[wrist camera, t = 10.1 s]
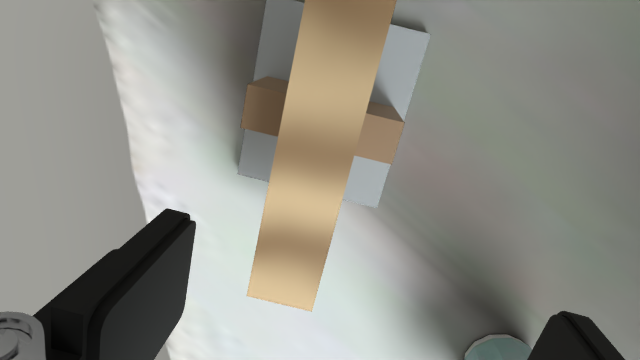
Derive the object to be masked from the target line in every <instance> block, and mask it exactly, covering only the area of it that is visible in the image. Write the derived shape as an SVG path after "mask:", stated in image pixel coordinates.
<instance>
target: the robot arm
mask: <svg viewBox="0 0 640 360" xmlns="http://www.w3.org/2000/svg"><path fill="white" fill-rule="evenodd" d="M195 229H196V222H195V221H192V220H190V215H189V214H187V213H183V212H179V211H176V210H172V209H165V210H164V211H163V212H161V213H160V214H159V215H158V216H157V217H156V218H154V219H153V220H152V221H151V222H150V223H149V224H147V225H146V226H145V227H144V228H143V229H142V230H140V231H139V232H138V233H137V234H136V235H134V236H133V237H132V238H131V239H130V240H129V241H127V242H126V243H125V244H124V245H123V246H122V247H120V248H119V249H115V250H112V251H111V252H109V253H108V254H106V255H105V256H104V257H103V258H102V259H100V260H99V261H98V262H97V263H96V264H94V265H93V266H92V267H91V268H90V269H88V270H87V271H86V272H85V273H84V274H82V275H81V276H80V277H79V278H78V279H76V280H75V281H74V282H73V283H72V284H70V285H69V286H68V287H67V288H66V289H64V290H63V291H62V292H61V293H60V294H58V295H57V296H56V297H55V298H54V299H52V300H51V301H50V302H49V303H48V304H46V305H45V306H44V307H43V308H42V309H40V310H39V311H38V312H37V313H36V314H34V315H33V316H30V315H28V314H25V313H19V312H0V360H154V359H155V357H156V356H157V354H158V352H159V351H160V349H161V348H162V346H163V345H164V343H165V342H166V340H167V339H168V337H169V335H170V334H171V332H172V331H173V329H174V328H175V326H176V325H177V323H178V322H179V320H180V318H181V316H182V313H183V310H184V306H185V300H186V293H187V286H188V278H189V271H190V264H191V257H192V250H193V243H194V236H195ZM527 360H625V359H624V358H623V357H622V355H621V354H620V353H619V352H618V351H617V350H616V348H615V347H614V346H613V345H612V344H611V342H610V341H609V340H608V339H607V338H606V337H605V335H604V334H603V333H602V332H601V331H600V329H599V328H598V327H597V326H596V325H595V324H594V322H593V321H592V320H591V319H590V318H588V317H586V316H582V315H578V314H574V313H570V312H566V311H561V312H559V313H558V314H557V315H553V316H551V317H550V319H549V320H548V322H547V324H546V326H545V328H544V329H543V331H542V333H541V335H540V337H539V339H538V340H537V342H536V344H535V346H534V348H533V350H532V352H531V353H530V355H529V357H528V359H527Z"/></svg>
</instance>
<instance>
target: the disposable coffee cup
mask: <svg viewBox="0 0 640 360" xmlns="http://www.w3.org/2000/svg"><path fill="white" fill-rule="evenodd" d="M531 352H532V349H531V348H530V347H529V346H528V345H527V344H525V343H523V342H522V341H521V340H519V339H516V338H514V337H512V336H510V335H507V334H504V335H488V336H486V337H484V338H482V339H479V340H477V341H475V342H474V343H473V344H472V345H471V346H470V348H469V349H468V350H467V351H466V353H465V358H464V360H527V359H528V357H529V355H530V353H531Z"/></svg>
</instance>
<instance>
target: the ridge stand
mask: <svg viewBox="0 0 640 360" xmlns="http://www.w3.org/2000/svg"><path fill="white" fill-rule="evenodd" d="M303 8H304V3H303V2H299V1H295V0H266V5H265V11H264V17H263V23H262V29H261V35H260V41H259V47H258V53H257V59H256V65H255V71H254V77H253V82H252V83H249V84H247V90H246V96H245V102H244V109H243V115H242V121H241V127H240V128H244V129H245V131H244V137H243V143H242V149H241V155H240V161H239V167H238V173H237V174H239V175H243V176H247V177H251V178H255V179H259V180H263V181H267V182H269V180H270V175H271V170H272V165H273V160H274V155H275V150H276V145H277V140H278V135H279V130H280V125H281V120H282V114H283V109H284V104H285V99H286V94H287V89H288V84H289V79H290V74H291V69H292V64H293V59H294V54H295V49H296V44H297V39H298V33H299V28H300V23H301V18H302V13H303ZM430 35H431V34H428V33H424V32H420V31H416V30H412V29H408V28H404V27H400V26H396V25H392V24H390V26H389V30H388V34H387V37H386V41H385V45H384V48H383V52H382V56H381V59H380V63H379V67H378V70H377V74H376V78H375V81H374V85H373V89H372V92H371V96H370V100H369V103H368V107H367V111H366V114H365V118H364V122H363V125H362V129H361V133H360V136H359V140H358V144H357V147H356V151H355V155H354V158H353V162H352V166H351V169H350V173H349V177H348V180H347V184H346V188H345V191H344V195H343V199H342V200H345V201H349V202H354V203H358V204H362V205H366V206H370V207H374V208H377V206H378V203H379V200H380V197H381V193H382V190H383V187H384V184H385V180H386V177H387V174H388V171H389V168H390V164H391V165H392V162H393V159H394V156H395V152H396V149H397V146H398V143H399V140H400V136H401V133H402V130H403V127H404V123H405V122H404V119H405V116H406V113H407V109H408V106H409V103H410V100H411V97H412V93H413V90H414V87H415V84H416V80H417V77H418V74H419V71H420V67H421V64H422V61H423V58H424V55H425V51H426V48H427V45H428V42H429V38H430Z"/></svg>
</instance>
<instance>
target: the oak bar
mask: <svg viewBox="0 0 640 360" xmlns="http://www.w3.org/2000/svg"><path fill="white" fill-rule="evenodd" d="M396 1H397V0H305V3H304V8H303V13H302V18H301V23H300V28H299V33H298V39H297V44H296V49H295V54H294V59H293V64H292V69H291V74H290V79H289V84H288V89H287V94H286V99H285V104H284V109H283V114H282V120H281V125H280V130H279V135H278V140H277V145H276V150H275V155H274V160H273V165H272V170H271V175H270V180H269V185H268V190H267V196H266V201H265V206H264V211H263V216H262V221H261V226H260V231H259V236H258V241H257V246H256V251H255V256H254V261H253V266H252V271H251V277H250V282H249V287H248V292H247V296H249V297H253V298H257V299H261V300H266V301H270V302H274V303H278V304H282V305H286V306H291V307H295V308H299V309H303V310H307V311H311V312H312V309H313V305H314V302H315V298H316V294H317V291H318V287H319V283H320V280H321V276H322V272H323V269H324V265H325V261H326V258H327V254H328V250H329V247H330V243H331V239H332V236H333V232H334V228H335V225H336V221H337V217H338V214H339V210H340V206H341V203H342V199H343V195H344V191H345V188H346V184H347V180H348V177H349V173H350V169H351V166H352V162H353V158H354V155H355V151H356V147H357V144H358V140H359V136H360V133H361V129H362V125H363V122H364V118H365V114H366V111H367V107H368V103H369V100H370V96H371V92H372V89H373V85H374V81H375V78H376V74H377V70H378V67H379V63H380V59H381V56H382V52H383V48H384V45H385V41H386V37H387V34H388V30H389V26H390V23H391V19H392V15H393V12H394V8H395V4H396Z"/></svg>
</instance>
